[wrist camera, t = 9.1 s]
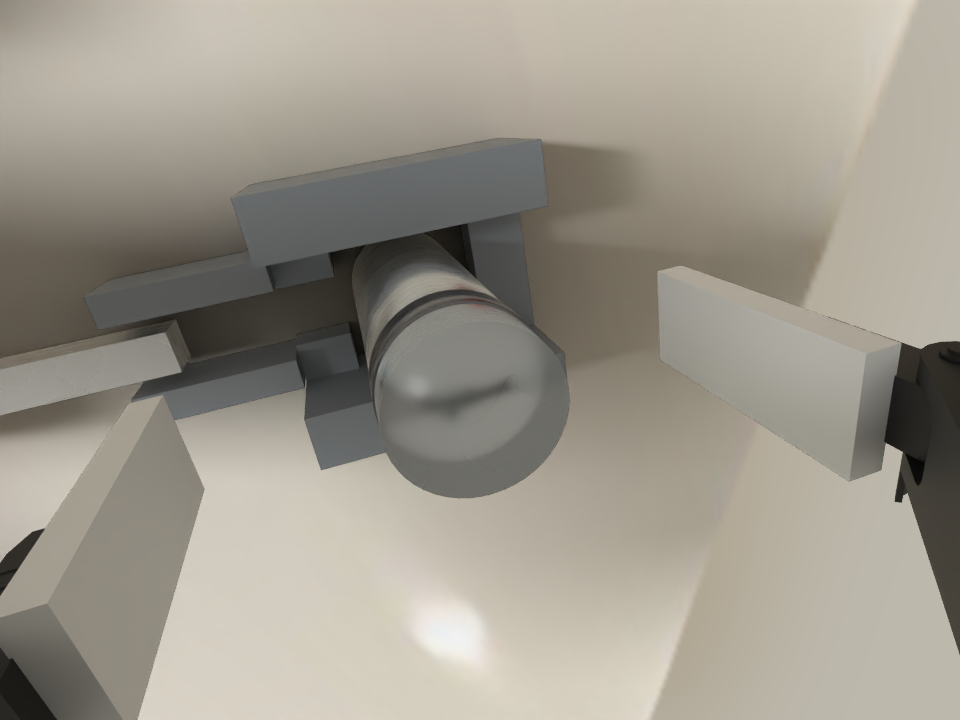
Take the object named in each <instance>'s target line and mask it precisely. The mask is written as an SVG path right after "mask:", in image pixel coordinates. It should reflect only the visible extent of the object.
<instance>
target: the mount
mask: <svg viewBox="0 0 960 720" xmlns="http://www.w3.org/2000/svg"><path fill="white" fill-rule="evenodd" d="M231 200H232V203H233V206H234V209H235V212H236V215H237V218H238V221H239V224H240V227H241V230H242V233H243V236H244V239H245V242H246V245H247V248H248V251H246V252H241V253H236V254H231V255H226V256H221V257H217V258H212V259H207V260H202V261H197V262H192V263H188V264H183V265H178V266H173V267H168V268H163V269H159V270H154V271H149V272H144V273H139V274H134V275H130V276H125V277H120V278H115V279H110V280H108V281H107V282H105V283H104V284H102V285H101V286H99V287H98V288H96V289H95V290H93V291H92V292H90V293H89V294H88V295H86V296H85V297H83V298H84V300H85V302H86V304H87V307H88V309H89V311H90V313H91V315H92V317H93V319H94V322H95V324H96V326H97V328H98V330H101V329H105V328H110V327H114V326H119V325H123V324H128V323H133V322H137V321H142V320H146V319H151V318H155V317H160V316H164V315H169V314H173V313H178V312H182V311H187V310H192V309H196V308H201V307H205V306H210V305H214V304H219V303H223V302H228V301H232V300H237V299H241V298H246V297H251V296H255V295H260V294H264V293H269V292H273V291H274V288H275V285H276V286H277V289H281V288H285V287H290V286H294V285H299V284H303V283H308V282H313V281H317V280H322V279H326V278H331V277H334V267H333V264H332V260H331V256H330V253H329V252H334V251H339V250H343V249H348V248H353V247H357V246H362V245H367V244H372V243H376V242H381V241H386V240H390V239H395V238H400V237H405V236H409V235H414V234H419V233H423V232H428V231H433V230H438V229H442V228H447V227H452V226H456V225H461V230H462V236H463V242H464V248H465V253H466V259H467V265H468V271H469V272H470V273H471V274H472V275H473V276H474V277H475V278H476V279H477V280H478V281H479V282H480V283H481V284H483V285H484V286H485V287H486V288H487V289H488V290H489V291H490V292H491V293H492V294H493V295H494V296H495V297H496V298H497V299H498V300H500V301H502V302H503V303H504V304H506V305H507V306H508V307H510V308H511V309H512V310H513V311H514V312H515V313H516V314H517V315H518V316H520V317H521V318H522V319H523V320H524V321H525V322H526V323H527V324H528V325H529V326H530V327H531V328H532V329H533V331H534V332H535V333H536V335H537V336H538V337H539V338H540V339H541V340H542V341H543V342H544V343H545V344H546V345H547V346H548V347H549V348H550V349H551V350H552V351H553V352H554V354H555V355H556V357H557V358H558V359H559V361H560V363H561V365H562V367H563V369H564V372H565V375H566V378H567V373H566V364H565V355H564V351H563V350H561V349H560V348H559V347H558V346H557V345H556V344H555V343H554V342H553V341H551V340H550V339H549V338H548V337H547V336H546V335H545V334H544V333H543V332H541V331H540V330H539V329H538V328H537V327H536V326H535V325H534V322H533V314H532V306H531V299H530V291H529V283H528V276H527V268H526V260H525V253H524V245H523V237H522V230H521V222H520V214H519V212H522V211H527V210H532V209H536V208H541V207H546V206H548V200H547V190H546V181H545V172H544V163H543V154H542V145H541V139H519V138H496V139H491V140H486V141H481V142H475V143H470V144H465V145H459V146H454V147H449V148H443V149H438V150H433V151H427V152H422V153H417V154H411V155H406V156H401V157H395V158H390V159H385V160H379V161H374V162H369V163H363V164H358V165H353V166H347V167H342V168H337V169H332V170H326V171H321V172H316V173H310V174H305V175H300V176H294V177H289V178H284V179H278V180H273V181H268V182H262V183H257V184H252V185H249V186H248V187H246V188H245V189H243V190H242V191H240V192H239V193H237V194H236V195H235V196H233V197H232V198H231ZM368 372H369V370H368V365H367V360H366V355H365V354H362V355H357V352H356V348H355V344H354V341H353V337H352V333H351V330H350V326H349V322H347V323H343V324H338V325H334V326H330V327H325V328H321V329H317V330H313V331H308V332H304V333H300V334H297V339H294V340H290V341H286V342H281V343H277V344H273V345H269V346H264V347H260V348H256V349H252V350H247V351H243V352H239V353H235V354H230V355H226V356H222V357H218V358H213V359H209V360H205V361H201V362H196V363H192V364H188V365H186V366H185V368H184V369H183V371H182V372H180V373H176V374H172V375H168V376H164V377H159V378H155V379H151V380H147V381H145V382H144V383H143V385H142V386H141V387H140V389H139V390H138V392H137V393H136V394H135V396H134V397H133V398H132V400H131V401H132V403H133V402H137V401H141V400H145V399H149V398H153V397H157V396H161V395H163V396H164V399H165V401H166V403H167V405H168V408H169V410H170V412H171V414H172V417H173V419H174V420H178V419H182V418H186V417H190V416H194V415H198V414H202V413H206V412H210V411H214V410H218V409H222V408H226V407H230V406H234V405H238V404H242V403H246V402H250V401H254V400H258V399H262V398H266V397H270V396H274V395H278V394H282V393H286V392H290V391H294V390H298V389H302V388H305V377H306V380H307V386H306V402H305V417H304V420H305V423H306V426H307V429H308V432H309V435H310V438H311V441H312V444H313V447H314V450H315V453H316V456H317V459H318V462H319V465H320V468H321V470H324V469H327V468H331V467H334V466H338V465H342V464H345V463H349V462H353V461H356V460H360V459H363V458H367V457H371V456H374V455H378V454H382V453H385V452H386V451H385V448H384V445H383V442H382V438H381V432H380V427H379V424H378V421H377V419H376V416H375V412H374V407H373V402H372V397H371V391H370V386H369V373H368ZM569 402H570V400H569Z"/></svg>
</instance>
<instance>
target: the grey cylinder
mask: <svg viewBox="0 0 960 720" xmlns="http://www.w3.org/2000/svg"><path fill="white" fill-rule="evenodd" d="M352 287H353V293H354V298H355V303H356V308H357V313H358V318H359V324H360V329H361V334H362V339H363V344H364V350H365V355H366V360H367V365H368V370H369V372H368V373H369V386H370V391H371V397H372V402H373V407H374V412H375V416H376V419H377V421H378V424H379V427H380V432H381V438H382V442H383V445H384V448H385V451H386V453H387V455H388V457H389V458H390V460H391V462H392V463H393V465H394V466H395V467H396V469H397V470H398V471H399V472H400V473H401V474H402V475H403V476H404V477H405V478H406V479H407V480H409V481H410V482H411V483H413V484H414V485H416V486H418V487H419V488H421V489H423V490H425V491H428V492H431V493H433V494H436V495H440V496H445V497H452V498H474V497H482V496H486V495H490V494H494V493H497V492H499V491H502V490H505V489H507V488H509V487H511V486H513V485H515V484H517V483H518V482H520V481H521V480H523V479H525V478H526V477H527V476H529V475H530V474H531V473H533V472H534V471H535V470H536V469H537V468H538V467H539V466H540V465H541V464H542V463H543V462H544V461H545V460H546V459H547V457H548V456H549V455H550V454H551V452H552V451H553V449H554V448H555V446H556V445H557V443H558V441H559V439H560V437H561V435H562V432H563V430H564V427H565V424H566V420H567V416H568V411H569V388H568V382H567V378H566V375H565V372H564V369H563V367H562V365H561V363H560V361H559V359H558V358H557V357H556V355H555V354H554V352H553V351H552V350H551V349H550V348H549V347H548V346H547V345H546V344H545V343H544V342H543V341H542V340H541V339H540V338H539V337H538V336H537V335H536V333H535V332H534V331H533V329H532V328H531V327H530V326H529V325H528V324H527V323H526V322H525V321H524V320H523V319H522V318H521V317H520V316H518V315H517V314H516V313H515V312H514V311H513V310H512V309H511V308H510V307H508V306H507V305H506V304H504V303H503V302H502V301H500V300H498V299H497V298H496V297H495V296H494V295H493V294H492V293H491V292H490V291H489V290H488V289H487V288H486V287H485V286H484V285H483V284H481V283H480V282H479V281H478V280H477V279H476V278H475V277H474V276H473V275H472V274H471V273H470V272H469V271H468V270H467V269H466V268H464V267H463V266H462V265H461V264H460V263H459V262H458V261H457V260H456V259H455V258H454V257H453V256H452V255H451V254H450V253H448V252H447V251H446V250H445V249H444V248H443V247H442V246H441V245H440V244H439V243H438V242H437V241H435V240H434V239H433V238H431V237H430V236H428V235H426V234H424V233H419V234H414V235H409V236H405V237H400V238H395V239H390V240H386V241H381V242H376V243H372V244H367V245H366V246H365V247H364V248H363V249H362V251H361V252H360V253H359V255H358V257H357V259H356V261H355V264H354V267H353V272H352Z"/></svg>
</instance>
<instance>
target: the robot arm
mask: <svg viewBox="0 0 960 720" xmlns="http://www.w3.org/2000/svg"><path fill="white" fill-rule="evenodd" d="M657 281H658V313H659V345H660V360H661V361H662V362H664V363H666V364H667V365H669V366H670V367H672V368H673V369H675V370H676V371H678V372H680V373H681V374H683V375H684V376H686V377H687V378H689V379H690V380H692V381H694V382H695V383H697V384H698V385H700V386H701V387H703V388H704V389H706V390H708V391H709V392H711V393H712V394H714V395H715V396H717V397H718V398H720V399H722V400H723V401H725V402H726V403H728V404H729V405H731V406H732V407H734V408H736V409H737V410H739V411H740V412H742V413H743V414H745V415H746V416H748V417H750V418H751V419H753V420H754V421H756V422H757V423H759V424H760V425H762V426H764V427H765V428H767V429H768V430H770V431H771V432H773V433H775V434H777V435H778V436H779V437H781V438H782V439H784V440H785V441H787V442H788V443H790V444H792V445H793V446H795V447H796V448H798V449H799V450H801V451H802V452H804V453H806V454H807V455H809V456H811V457H812V458H813V459H815V460H817V461H818V462H820V463H821V464H823V465H824V466H826V467H827V468H829V469H830V470H832V471H834V472H835V473H837V474H838V475H840V476H841V477H843V478H844V479H846V480H848V481H852V480H855V479H858V478H860V477H863V476H866V475H869V474H872V473H874V472H877V471H880V470H881V469H882V462H883V456H884V449H885V444H886V443H887V444H889V445H891V446H893V447H895V448H897V449H899V450H900V451H902V452H903V455H902V460H901V466H900V472H899V478H898V484H897V489H896V496H895V502H902V498H903V495H905V494H907V493H908V495H909V498H910V501H911V504H912V508H913V511H914V514H915V517H916V520H917V523H918V526H919V529H920V532H921V536H922V538H923V542H924V545H925V548H926V551H927V554H928V557H929V560H930V563H931V567H932V570H933V573H934V576H935V579H936V582H937V585H938V588H939V591H940V594H941V597H942V601H943V604H944V607H945V610H946V613H947V616H948V619H949V622H950V626H951V629H952V632H953V635H954V638H955V641H956V644H957V647H958V650H959V653H960V342H957V341H953V342H938V343H934V344H929V345H927V346H925V347H924V348H922V349H919V348H916V347H913V346H910V345H907V344H904V343H901V342H899V341H896V340H893V339H890V338H887V337H884V336H882V335H879V334H875V333H873V332H869V331H866V330H865V329H862V328H859V327H856V326H852V325H850V324H847V323H845V322H842V321H839V320H836V319H833V318H830V317H826V316H824V315H821V314H818V313H815V312H812V311H809V310H807V309H804V308H801V307H798V306H795V305H792V304H790V303H787V302H784V301H781V300H778V299H775V298H773V297H770V296H767V295H764V294H761V293H758V292H756V291H753V290H750V289H747V288H744V287H741V286H739V285H736V284H733V283H730V282H727V281H724V280H722V279H719V278H716V277H713V276H710V275H707V274H705V273H702V272H699V271H696V270H693V269H690V268H688V267H685V266H682V265H681V266H677V267H673V268H669V269H665V270H661V271H657ZM203 493H204V487H203V484H202V482H201V480H200V478H199V475H198V473H197V471H196V469H195V466H194V464H193V462H192V460H191V457H190V455H189V453H188V451H187V448H186V446H185V444H184V441H183V439H182V437H181V435H180V432H179V430H178V428H177V426H176V423H175V421H174V419H173V417H172V414H171V412H170V410H169V408H168V405H167V403H166V401H165V399H164V396H163V395H161V396H157V397H153V398H149V399H145V400H141V401H137V402H133V403H129V404H128V405H127V406H126V408H125V409H124V411H123V412H122V414H121V415H120V417H119V418H118V420H117V422H116V423H115V425H114V426H113V428H112V429H111V431H110V432H109V434H108V435H107V437H106V438H105V440H104V441H103V443H102V444H101V446H100V447H99V449H98V450H97V452H96V453H95V455H94V456H93V458H92V459H91V461H90V462H89V464H88V465H87V467H86V468H85V470H84V471H83V473H82V474H81V476H80V477H79V479H78V480H77V482H76V483H75V485H74V486H73V488H72V489H71V491H70V492H69V494H68V495H67V497H66V498H65V500H64V501H63V503H62V504H61V506H60V507H59V509H58V510H57V512H56V513H55V515H54V516H53V518H52V519H51V521H50V522H49V524H48V525H47V527H46V528H45V529H41V530H37V531H34V532H32V533H31V534H29V535H28V536H27V537H26V538H25V539H24V540H22V541H21V542H20V543H19V544H18V545H17V546H16V547H14V548H13V549H12V550H11V551H10V552H9V553H7V554H6V556H5V557H4V558H3V560H2V561H1V563H0V720H137V719H138V716H139V712H140V709H141V705H142V702H143V699H144V695H145V692H146V688H147V685H148V681H149V678H150V675H151V671H152V668H153V664H154V661H155V657H156V654H157V650H158V647H159V644H160V640H161V637H162V633H163V630H164V626H165V623H166V620H167V616H168V613H169V609H170V606H171V602H172V599H173V596H174V592H175V589H176V585H177V582H178V578H179V575H180V572H181V568H182V565H183V561H184V558H185V554H186V551H187V547H188V544H189V541H190V537H191V534H192V530H193V527H194V523H195V520H196V517H197V513H198V510H199V506H200V503H201V499H202V496H203Z"/></svg>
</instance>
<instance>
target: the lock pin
mask: <svg viewBox="0 0 960 720" xmlns="http://www.w3.org/2000/svg"><path fill="white" fill-rule="evenodd" d="M190 358H191V356H190V353H189V351H188V348H187V346H186V343H185V341H184V338H183V336H182V333H181V331H180V328H179V326H178V324H177V321H176V319H174V320H170V321H165V322H161V323H156V324H152V325H147V326H143V327H138V328H134V329H129V330H125V331H120V332H116V333H111V334H107V335H102V336H98V337H93V338H89V339H84V340H80V341H75V342H71V343H66V344H62V345H57V346H53V347H48V348H44V349H39V350H35V351H30V352H26V353H21V354H17V355H12V356H8V357H3V358H0V415H4V414H8V413H12V412H16V411H20V410H25V409H29V408H33V407H37V406H41V405H46V404H50V403H54V402H58V401H62V400H67V399H71V398H75V397H79V396H84V395H88V394H92V393H96V392H100V391H105V390H109V389H113V388H117V387H121V386H126V385H130V384H134V383H138V382H142V381H147V380H151V379H155V378H159V377H164V376H168V375H172V374H176V373H180V372H182V371H183V369H184V368H185V366H186V364H187V363H188V361H189V359H190Z"/></svg>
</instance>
